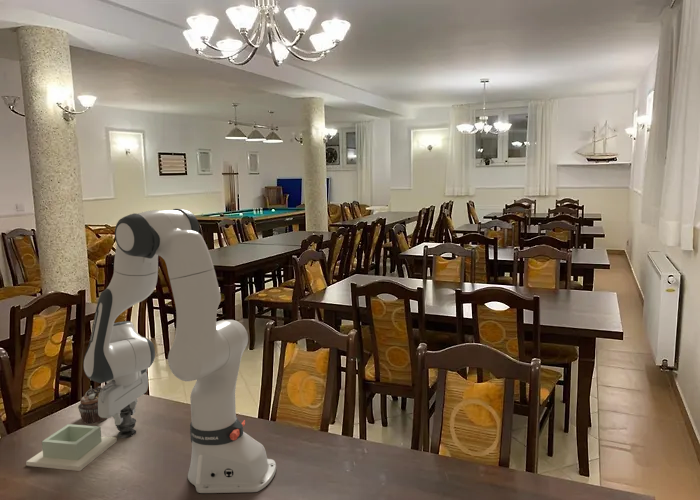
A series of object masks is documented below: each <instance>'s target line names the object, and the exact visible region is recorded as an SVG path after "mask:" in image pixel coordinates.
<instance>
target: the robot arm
mask: <svg viewBox="0 0 700 500" xmlns="http://www.w3.org/2000/svg"><path fill="white" fill-rule="evenodd" d="M114 228H115V229H114V239H115V243H116V247H115V253H114V260H113V261H114V262H113V274H112V277H111V280H110V282H109V284H108V286H107V287H106V288H105V289H104V290H103V291H101V293H100V294H99V296H98V297H99V298H98V300H97V304H96V307H95V308H96V309H95V313H94V318H93V322H92V329H91V332H90V338H89V342H88V346H87V348H86V351H85V354H84V357H83V370H84V374H85V376H86V377H87V378H88V379H90V380H91V381H93V382H95V383H97V384H98V383H99V384H104V383H106V384H105V385H103V386H101V387H102V388H103V389H102V390H101V392H100V393H99V397H98V415H99V416H100V417H101V418H107V419H111V418H113V419H114V424H116V425H120V424H121V423H123V417H120V413H121V412H120V411H121V410H122V409H123V408H125V407H126V406H128V405H129V404H130V408H131V411H130V412H131V416H133V415H135V414H136V407H137V404H138V398H139V399H140V397H141V396H143V395H144V394H146V393H147V391H148V387H149V382H148V381H149V380H148V373H147V372H148V369H149V368H150V367H151V366H152V364H153V363H154V361H155V359H156V349H155V344H154V342H152V341H151V340H150V339H149V338H148V337H145V336H142V335H140V334H139V332H137V330H136V328H135V325H134V323H133V322H132V321H130V320H126V321H125V320H124V321H118V322H116V319H117V318H118V317H119V316H120V315H121V314H122V313H123V312H125V311H126V310H128V309H130V308H131V307H133V306H135V305H137V304H138V303H141V302H143V301H145V300H146V299H148V297H150V296H151V294H153V292H154V291H155V288H156V286H157V283H158V278H159V277H158V275H159V273H158V272H159V271H158V270H159V257H161V258H162V259H163V260H164V262H165V265H166V269H167V275H168V279H169V283H170V287H171V291H172V296H173V300H174V304H175V310H176V311H175V313H176V314H175V315H176V321H175V322H176V323H175V325H176V326H175V327H176V328H175V334H174V335H175V336H174V340H173V343H172V345H171V348H170V349H169V351H168V356H167V363H168V367H169V369H170V371H171V373H172V374H173V376H175V377H176V378H177V379H179V380H180V381H184V382H192V381H195V384H194V385H193V387H192V389H191V392H190V413H191V416H190V417H191V422H190V425H189V426H190V428H189V429H190V433H189V434H190V442H191V456H190V458H191V459H190V465H189V469H188V472H187V479H188V481H189V483H191V484H192V485H194V486H195V491H196V493H198V494H199V493H200V494H217V493H218V494H219V493H220V494H223V493H225V494H226V493H227V494H228V493H229V494H230V493H257V492H260V491H261V490H263V489H264V488H266V486H268V485H269V484H270V483H271V481H272V480H273V478H274V476H275V474H276V472H277V463H276V461H275V459H272V458H268V456H267V451H266V449H265V447H264V445H263V444H262V443H261V442H259V441H257V440H256V439H254V438H253V437H252V436H251V435H249V434H248V433H246V432H245V431H244V427H245V425H246V420H245V419H244V420H243V421H242V422H240V420H239V418H238V417H237V414H236V413H237V412H236V409H237V408H236V407H237V406H236V389H237V380H238V375H239V370H240V366H241V361H242V358H243V357H242V356H243V355H244V351H245V350H246V348H247V346H248V342H249V334H248V331H247V329H246V327H245V326H244V325H243V324H242V323H241V322H239V321H238V320H234V319H223V320H218V321H217V314H218V310H219V309H218V308H219V305H220V304H221V300H222V295H221V291H220V288H219V287H220V286H219V282H218V279H217V273H216V270H215V265H214V263H213V260H212V256H211V253H210V250H209V248H208V246H207V244H206V241H205V240H204V237H203V235H202V234H201V233H200V223H199V221H198V219H197V217H196V215H195V214H194V213H193V212H191V211H190V210H188V209H183V208H173V209H160V210H159V209H152V210H146V211H142V212H139V213H134V212H133V213H130V214H128V215H126V216H123V217H121V218H120V219H119V220H118V221H117V222H116V224H115V227H114ZM116 425H115V426H116Z"/></svg>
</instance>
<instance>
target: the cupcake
mask: <svg viewBox="0 0 700 500" xmlns="http://www.w3.org/2000/svg"><path fill="white" fill-rule="evenodd" d="M102 387H103V386H101V385H99V386H97V387H95V388H92V387H90V388H89V389H88V390H87V391H86V392H85V394H84V396H82V397H81V398H80V404H78V406H77V409H78V411H79V415H80V417H81V421H82V422H83V424H87V425H88V424H91V425H92V424H98V423H101V422H103V421H105V420H107V419H108V418H101V417H100V416H99V415H98V397H99V393H100V392H101V390H102V389H103V388H102Z"/></svg>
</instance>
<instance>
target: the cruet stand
mask: <svg viewBox="0 0 700 500" xmlns="http://www.w3.org/2000/svg"><path fill="white" fill-rule="evenodd" d="M101 428H102V427H101V426H96V425H85V424H71V423H67V424H66V425H64V426H63V427H62V428H60V429H59V430H57V431H55V432H54V433H52V434H51V435H49V436H48V437H46V438H44V440H42V441H41V449H42V450H41V451H40V452H38V453H36V454H35V455H33V456H32V457H30V458H29V459H27V460H26V462H25V463H26V466H27V467H36V468H37V467H38V468H46V469H47V468H48V469H55V470H56V469H57V470H68V471H76V472H77V471H78V472H81V471H82V470H83V469H85V468H86V466H88V465H90V464H91V463H92V462H93V461H94V460H95V459H97V458H98V457H99V456H101V455H102V454H103V453H104V452H106V451H107V450H108V449H109V448H111V446H113V445H114V444H115V443H116V442H117V437H114V436H112V437H111V436H102V430H101Z"/></svg>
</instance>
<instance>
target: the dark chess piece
mask: <svg viewBox="0 0 700 500" xmlns="http://www.w3.org/2000/svg"><path fill="white" fill-rule="evenodd" d="M130 411H131V408H130V404H129V405H128V406H126V407H125V408H123V409H122V410H121V411H120V412H121V413H120V414H119V415H120V417H123V423H121V424H120V425H116V424H115V423H114V424H115V427H116V429H117V431H119V432H117V434H116V436H117V437H118V438H122V439H125V438H130V437H132V436H134V435H135V434H136V432H137V430H135V429H134V428H135V427H136V423H137V419H136V418H134V417H132V415H131V412H130Z"/></svg>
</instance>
